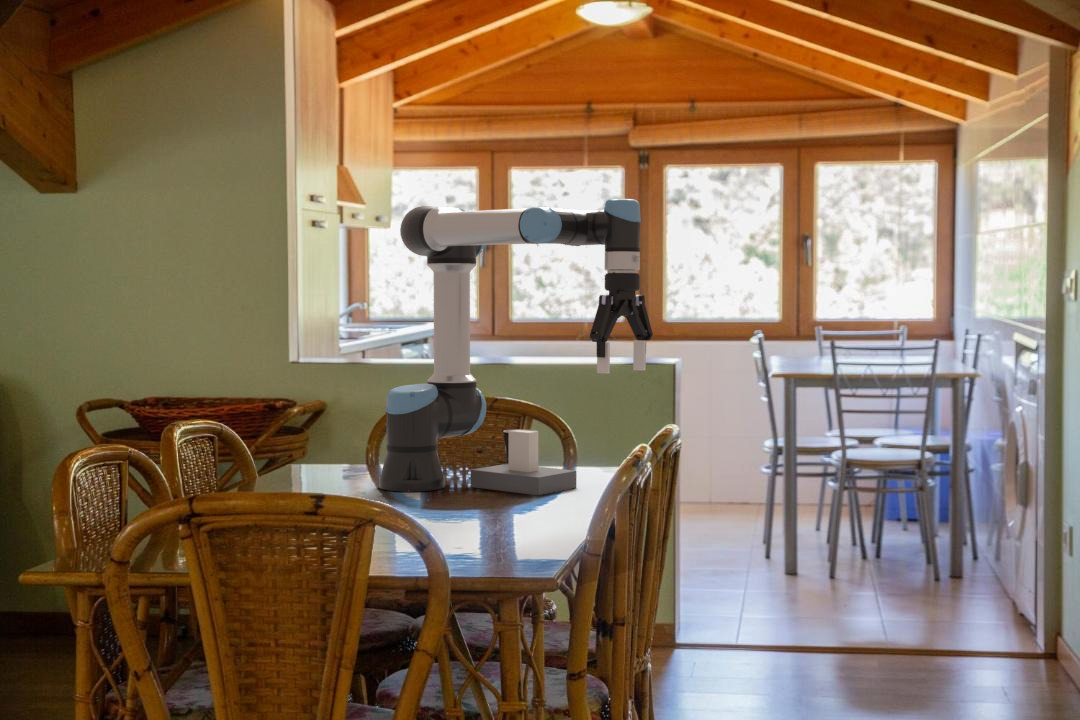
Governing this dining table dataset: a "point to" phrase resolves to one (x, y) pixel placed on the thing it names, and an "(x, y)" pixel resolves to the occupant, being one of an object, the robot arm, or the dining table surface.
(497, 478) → the header
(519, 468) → the plug
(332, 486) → the dining table surface
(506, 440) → the coffee mug
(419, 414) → the robot arm
